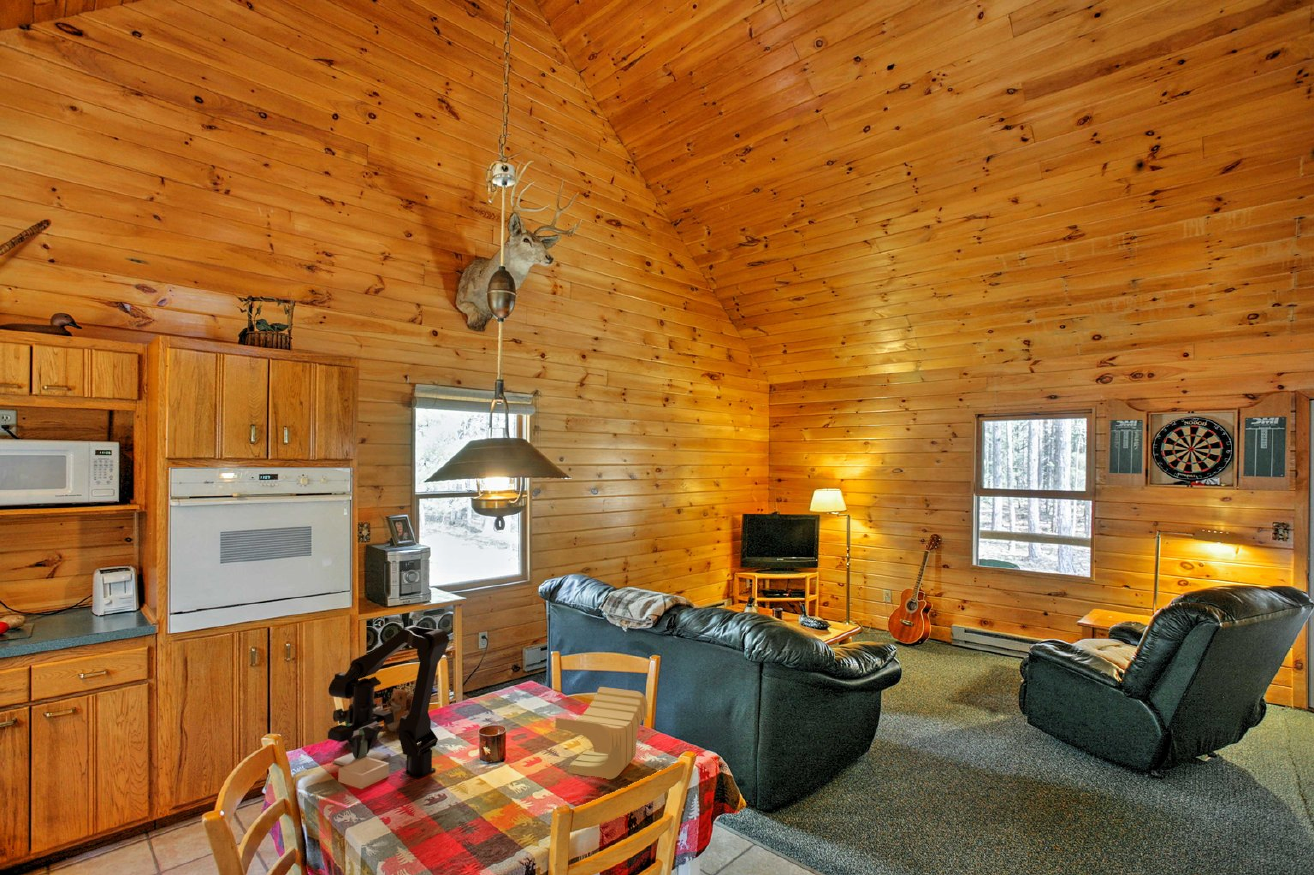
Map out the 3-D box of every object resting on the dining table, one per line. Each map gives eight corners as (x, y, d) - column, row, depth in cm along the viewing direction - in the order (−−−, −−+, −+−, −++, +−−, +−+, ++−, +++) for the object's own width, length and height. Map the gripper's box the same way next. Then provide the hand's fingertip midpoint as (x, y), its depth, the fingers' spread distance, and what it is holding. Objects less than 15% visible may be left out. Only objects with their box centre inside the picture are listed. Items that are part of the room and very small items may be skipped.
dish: (388, 778, 187) (389, 763, 187) (361, 791, 179) (361, 775, 179) (366, 771, 191) (366, 756, 192) (338, 783, 183) (338, 768, 184)
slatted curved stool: (608, 794, 179) (609, 725, 180) (554, 785, 184) (555, 717, 186) (646, 752, 208) (647, 692, 209) (598, 744, 213) (599, 686, 214)
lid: (387, 757, 200) (387, 739, 200) (358, 769, 191) (358, 750, 191) (363, 750, 204) (364, 732, 204) (334, 762, 195) (334, 743, 196)
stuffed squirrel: (373, 733, 219) (374, 691, 220) (402, 719, 233) (403, 680, 233) (399, 738, 216) (400, 695, 217) (427, 723, 230) (428, 683, 230)
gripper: (370, 687, 210) (368, 739, 209) (316, 705, 194) (313, 761, 193) (396, 693, 205) (394, 746, 204) (342, 711, 189) (340, 769, 188)
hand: (361, 755), depth 197 cm, fingers closed on lid, 3 cm apart
